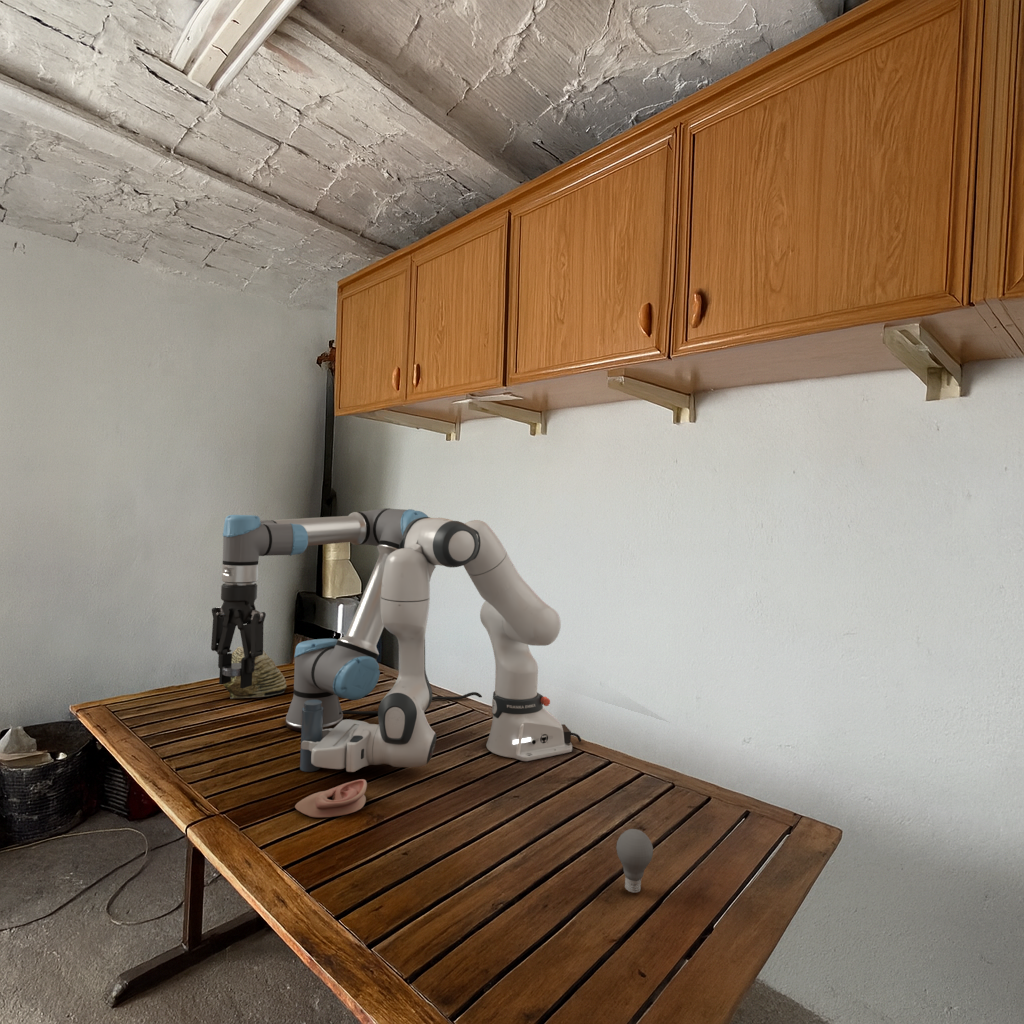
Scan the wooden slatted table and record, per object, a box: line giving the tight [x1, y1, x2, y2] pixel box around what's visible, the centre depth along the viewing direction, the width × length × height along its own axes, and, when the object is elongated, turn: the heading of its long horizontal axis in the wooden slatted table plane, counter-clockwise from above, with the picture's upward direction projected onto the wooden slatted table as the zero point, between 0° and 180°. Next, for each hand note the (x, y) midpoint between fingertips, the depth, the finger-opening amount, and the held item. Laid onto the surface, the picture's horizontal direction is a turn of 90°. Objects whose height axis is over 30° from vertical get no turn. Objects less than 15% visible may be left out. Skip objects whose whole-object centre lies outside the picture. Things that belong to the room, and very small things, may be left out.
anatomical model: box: [294, 778, 368, 819], centre depth 130 cm, size 13×4×12 cm
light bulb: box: [615, 828, 654, 894], centre depth 106 cm, size 6×6×10 cm
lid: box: [222, 663, 241, 677], centre depth 144 cm, size 6×6×2 cm
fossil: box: [222, 646, 288, 699], centre depth 198 cm, size 9×18×15 cm, turn 132°
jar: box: [299, 700, 324, 773], centre depth 148 cm, size 5×5×15 cm
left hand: (235, 684), depth 144 cm, fingers closed on lid, 5 cm apart
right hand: (307, 739), depth 148 cm, fingers closed on jar, 5 cm apart
